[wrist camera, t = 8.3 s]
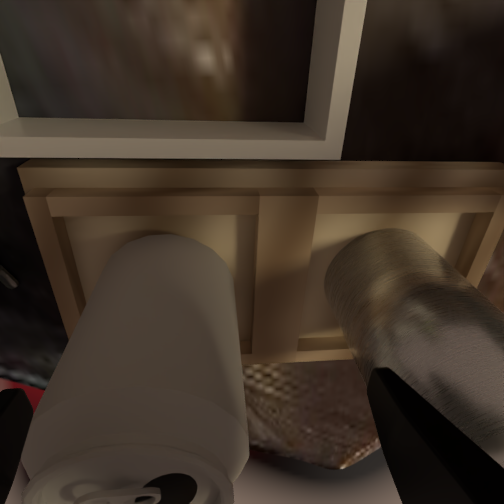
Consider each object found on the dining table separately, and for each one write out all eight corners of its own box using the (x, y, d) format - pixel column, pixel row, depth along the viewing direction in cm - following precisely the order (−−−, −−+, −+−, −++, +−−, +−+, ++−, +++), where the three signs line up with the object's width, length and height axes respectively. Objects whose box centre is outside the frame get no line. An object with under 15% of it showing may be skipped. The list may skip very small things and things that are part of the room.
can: (205, 341, 23) (200, 573, 13) (90, 310, 21) (-24, 561, 11) (254, 253, 20) (299, 469, 10) (125, 205, 18) (12, 421, 8)
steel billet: (447, 227, 21) (680, 408, 10) (414, 317, 24) (564, 517, 14) (333, 228, 20) (462, 425, 10) (317, 321, 23) (399, 535, 13)
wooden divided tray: (499, 162, 20) (536, 176, 18) (428, 336, 28) (448, 363, 25) (30, 158, 18) (4, 176, 15) (87, 353, 25) (75, 384, 23)
